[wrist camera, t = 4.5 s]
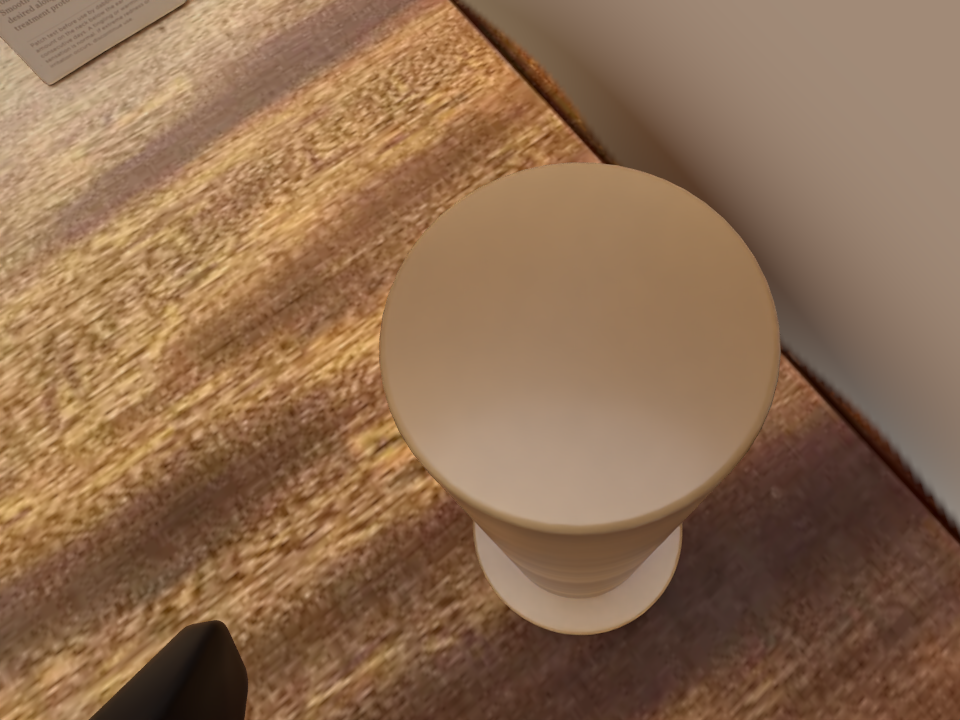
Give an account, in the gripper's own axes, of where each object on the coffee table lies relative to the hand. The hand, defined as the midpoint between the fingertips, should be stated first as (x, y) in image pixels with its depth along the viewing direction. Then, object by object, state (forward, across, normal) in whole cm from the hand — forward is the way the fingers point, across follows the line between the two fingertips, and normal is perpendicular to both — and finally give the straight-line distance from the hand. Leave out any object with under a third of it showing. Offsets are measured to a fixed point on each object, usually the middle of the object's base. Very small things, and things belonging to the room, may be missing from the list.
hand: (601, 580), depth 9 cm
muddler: (+8, 0, +5) cm, 9 cm away
